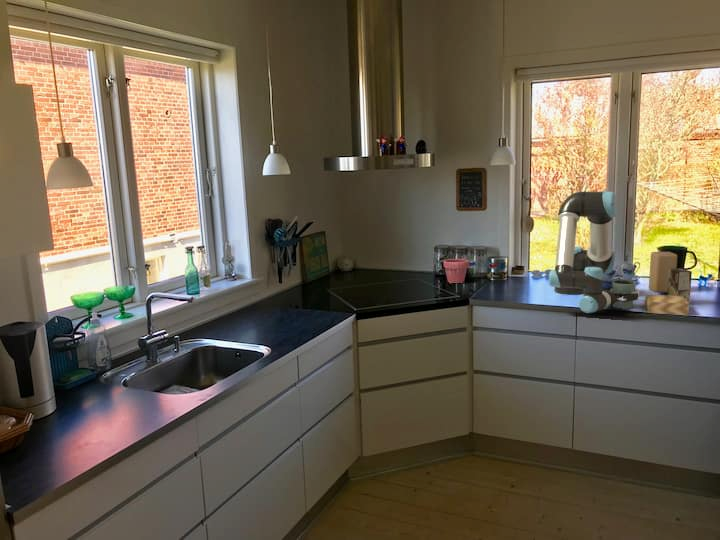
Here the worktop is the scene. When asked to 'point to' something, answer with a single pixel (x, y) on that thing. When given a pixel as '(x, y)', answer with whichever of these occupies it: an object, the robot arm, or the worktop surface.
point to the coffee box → (679, 283)
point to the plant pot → (455, 270)
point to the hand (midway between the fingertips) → (628, 291)
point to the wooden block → (661, 270)
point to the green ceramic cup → (623, 292)
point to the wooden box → (666, 304)
